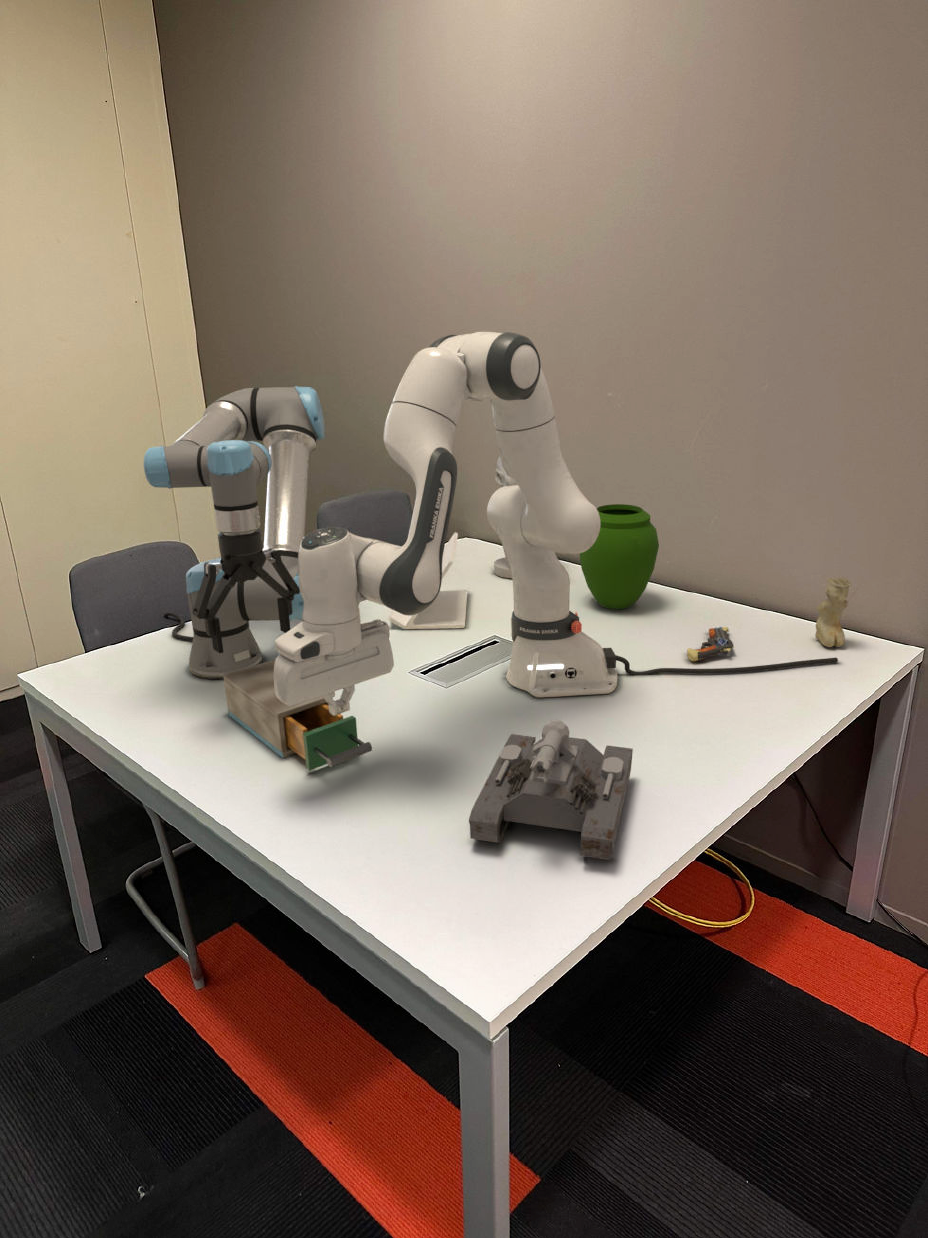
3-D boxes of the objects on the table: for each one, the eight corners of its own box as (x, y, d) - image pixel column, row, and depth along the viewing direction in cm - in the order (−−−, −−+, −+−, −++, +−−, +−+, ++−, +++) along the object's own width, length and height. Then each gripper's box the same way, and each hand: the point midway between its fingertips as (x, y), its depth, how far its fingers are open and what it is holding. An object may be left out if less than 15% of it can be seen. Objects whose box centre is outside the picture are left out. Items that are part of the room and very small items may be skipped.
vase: (599, 587, 227) (601, 497, 218) (668, 600, 216) (673, 505, 208) (562, 608, 212) (564, 513, 204) (634, 623, 202) (639, 523, 193)
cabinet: (336, 737, 153) (332, 695, 150) (282, 758, 147) (277, 714, 144) (279, 698, 169) (274, 659, 166) (228, 715, 163) (222, 674, 160)
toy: (511, 760, 144) (510, 679, 139) (631, 775, 138) (635, 691, 133) (469, 848, 121) (466, 755, 116) (610, 870, 116) (614, 774, 110)
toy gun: (688, 652, 178) (737, 649, 176) (682, 625, 196) (728, 622, 194) (688, 664, 179) (738, 661, 177) (683, 637, 197) (728, 634, 195)
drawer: (378, 764, 142) (375, 730, 140) (328, 785, 137) (325, 749, 134) (300, 711, 161) (297, 680, 159) (254, 727, 156) (249, 695, 154)
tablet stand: (467, 593, 225) (465, 531, 219) (465, 628, 202) (462, 559, 196) (399, 594, 226) (395, 532, 220) (388, 629, 203) (384, 560, 197)
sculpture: (821, 649, 184) (830, 583, 179) (808, 637, 191) (816, 573, 185) (848, 649, 184) (858, 582, 179) (834, 636, 191) (843, 572, 185)
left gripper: (291, 514, 161) (302, 619, 169) (162, 539, 147) (180, 653, 154) (311, 521, 156) (321, 629, 163) (179, 548, 141) (196, 665, 149)
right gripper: (377, 611, 141) (382, 687, 146) (264, 643, 129) (274, 724, 134) (399, 621, 137) (403, 699, 142) (284, 655, 125) (293, 739, 130)
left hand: (252, 641), depth 159 cm, fingers open, 13 cm apart
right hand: (339, 712), depth 138 cm, fingers closed
